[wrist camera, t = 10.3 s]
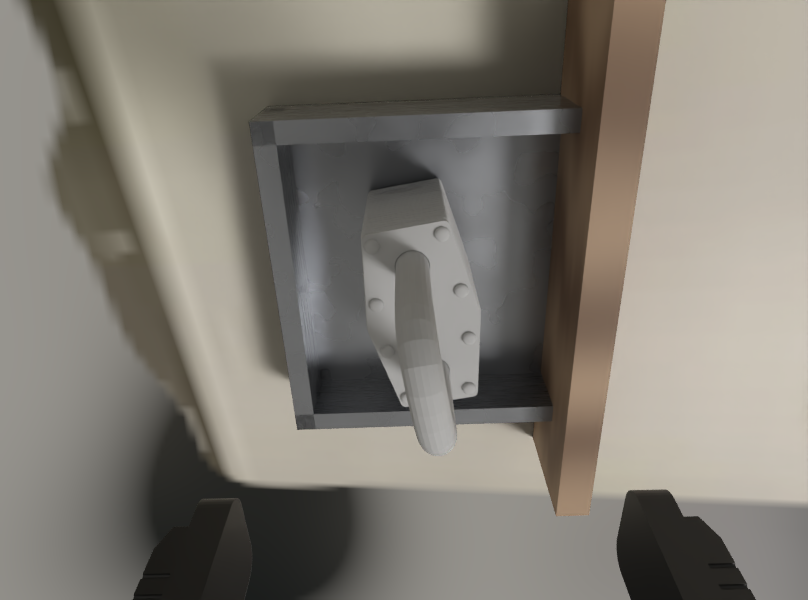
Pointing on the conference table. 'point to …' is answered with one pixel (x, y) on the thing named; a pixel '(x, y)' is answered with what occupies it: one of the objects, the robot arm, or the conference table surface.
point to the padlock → (421, 305)
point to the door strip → (593, 230)
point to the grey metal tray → (475, 218)
